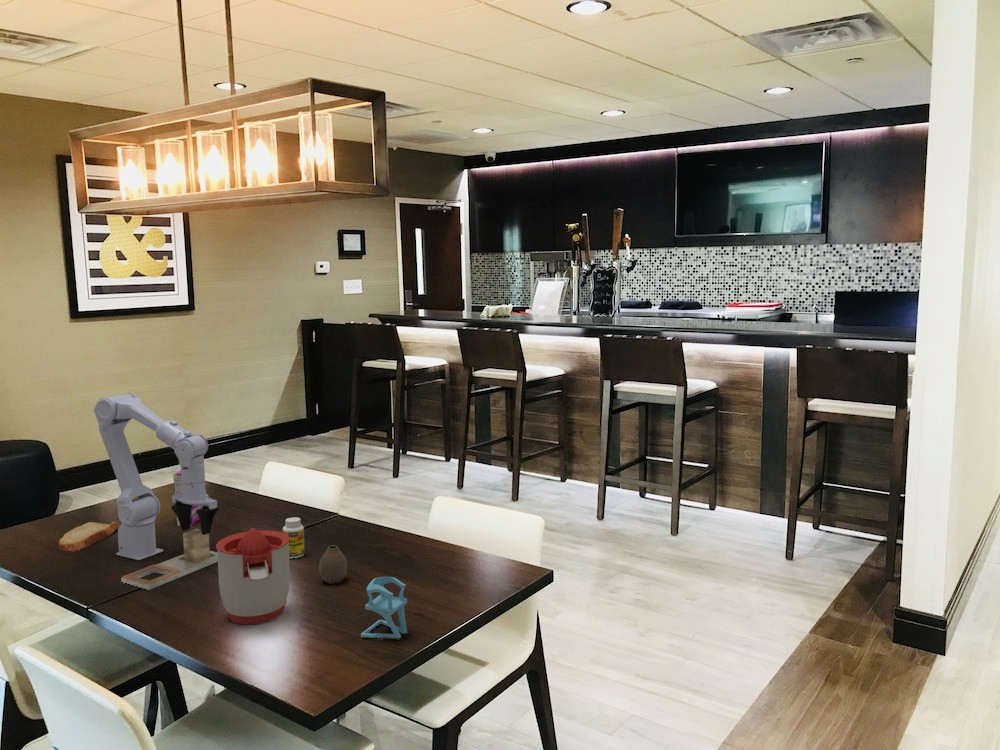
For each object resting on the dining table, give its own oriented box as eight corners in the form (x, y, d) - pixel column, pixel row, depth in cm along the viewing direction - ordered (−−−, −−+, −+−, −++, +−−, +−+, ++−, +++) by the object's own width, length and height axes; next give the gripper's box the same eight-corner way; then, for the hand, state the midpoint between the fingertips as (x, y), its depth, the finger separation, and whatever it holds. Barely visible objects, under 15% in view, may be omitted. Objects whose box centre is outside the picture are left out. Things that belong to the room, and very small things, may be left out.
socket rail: (121, 582, 192) (121, 576, 192) (199, 552, 213) (198, 547, 213) (148, 589, 187) (148, 584, 187) (225, 558, 209) (225, 553, 208)
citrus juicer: (222, 639, 162) (218, 546, 159) (216, 607, 178) (212, 522, 175) (298, 625, 168) (295, 536, 166) (286, 595, 184) (283, 514, 181)
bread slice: (63, 555, 213) (62, 541, 212) (48, 538, 226) (47, 526, 226) (132, 540, 224) (131, 527, 224) (114, 525, 238) (113, 513, 237)
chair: (394, 645, 159) (394, 589, 157) (359, 638, 162) (359, 583, 161) (413, 630, 166) (412, 576, 164) (379, 623, 169) (378, 570, 168)
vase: (352, 577, 195) (352, 543, 194) (338, 587, 189) (337, 553, 188) (328, 574, 197) (327, 540, 196) (314, 584, 191) (312, 549, 190)
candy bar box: (190, 515, 247) (187, 465, 245) (205, 515, 247) (203, 465, 245) (175, 526, 236) (172, 473, 234) (191, 526, 236) (189, 473, 234)
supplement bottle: (287, 561, 207) (285, 523, 206) (280, 554, 211) (279, 518, 210) (307, 556, 210) (306, 520, 209) (300, 551, 214) (299, 515, 213)
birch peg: (184, 562, 206) (183, 533, 205) (198, 557, 210) (196, 528, 209) (196, 565, 204) (195, 536, 203) (210, 560, 207) (208, 531, 206)
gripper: (225, 481, 204) (227, 531, 206) (186, 475, 211) (189, 523, 212) (203, 487, 198) (206, 539, 199) (164, 481, 204) (167, 531, 206)
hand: (196, 531), depth 205 cm, fingers open, 7 cm apart
